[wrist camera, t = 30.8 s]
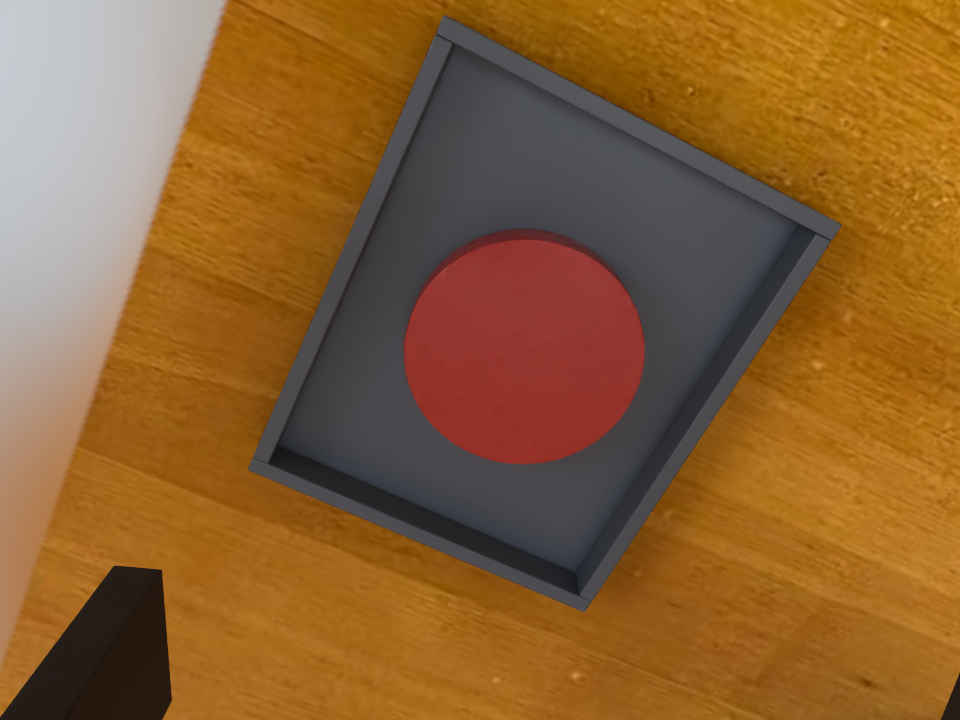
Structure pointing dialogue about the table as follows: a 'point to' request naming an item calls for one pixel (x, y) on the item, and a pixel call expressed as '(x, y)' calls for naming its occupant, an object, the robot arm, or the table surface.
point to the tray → (559, 209)
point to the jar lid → (524, 347)
